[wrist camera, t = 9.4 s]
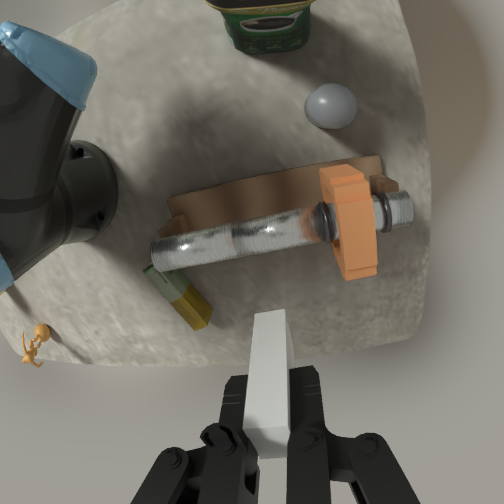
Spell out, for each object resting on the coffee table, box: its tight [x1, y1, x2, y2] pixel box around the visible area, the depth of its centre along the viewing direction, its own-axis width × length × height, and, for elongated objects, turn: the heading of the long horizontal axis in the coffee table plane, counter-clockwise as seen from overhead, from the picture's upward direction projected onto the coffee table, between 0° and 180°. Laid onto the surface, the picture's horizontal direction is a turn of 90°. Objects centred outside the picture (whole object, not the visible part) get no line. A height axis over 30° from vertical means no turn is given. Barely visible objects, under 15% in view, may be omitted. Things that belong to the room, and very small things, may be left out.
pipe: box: [151, 190, 414, 272], centre depth 28 cm, size 27×4×4 cm, turn 104°
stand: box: [158, 154, 399, 238], centre depth 33 cm, size 27×9×7 cm, turn 104°
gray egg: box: [305, 83, 357, 129], centre depth 28 cm, size 5×5×6 cm
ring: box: [319, 164, 378, 281], centre depth 27 cm, size 3×10×10 cm, turn 13°
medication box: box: [143, 260, 213, 331], centre depth 41 cm, size 12×3×4 cm, turn 34°
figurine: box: [22, 324, 50, 367], centre depth 45 cm, size 8×6×12 cm
